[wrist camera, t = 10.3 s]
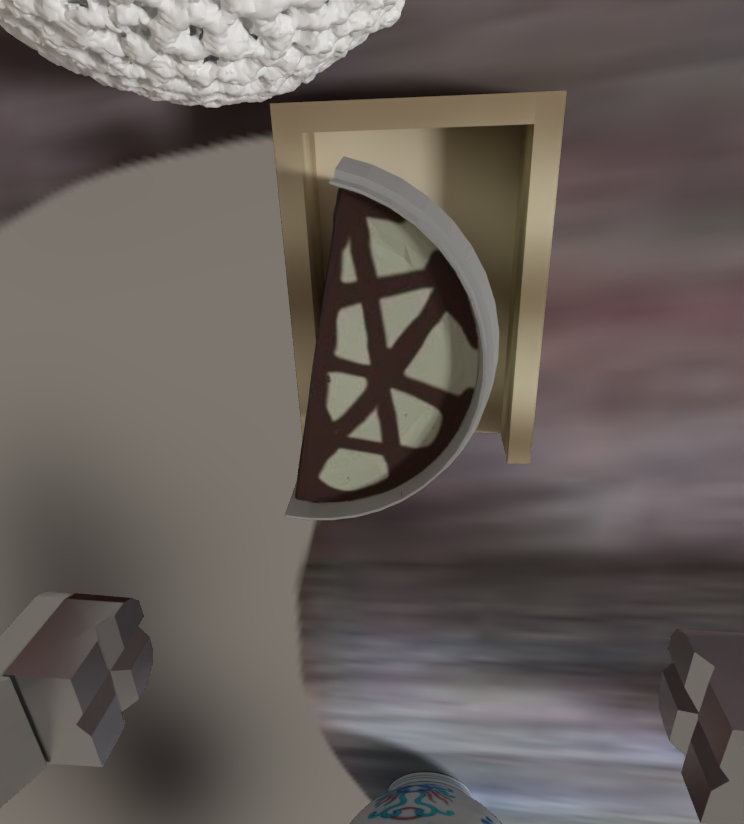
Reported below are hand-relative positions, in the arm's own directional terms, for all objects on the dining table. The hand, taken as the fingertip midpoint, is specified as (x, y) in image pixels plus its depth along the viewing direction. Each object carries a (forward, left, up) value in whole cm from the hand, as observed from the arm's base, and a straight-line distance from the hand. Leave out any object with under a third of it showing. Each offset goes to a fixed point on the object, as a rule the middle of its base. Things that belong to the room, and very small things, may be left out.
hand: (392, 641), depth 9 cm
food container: (0, 0, -20) cm, 20 cm away
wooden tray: (+1, 0, -21) cm, 21 cm away
